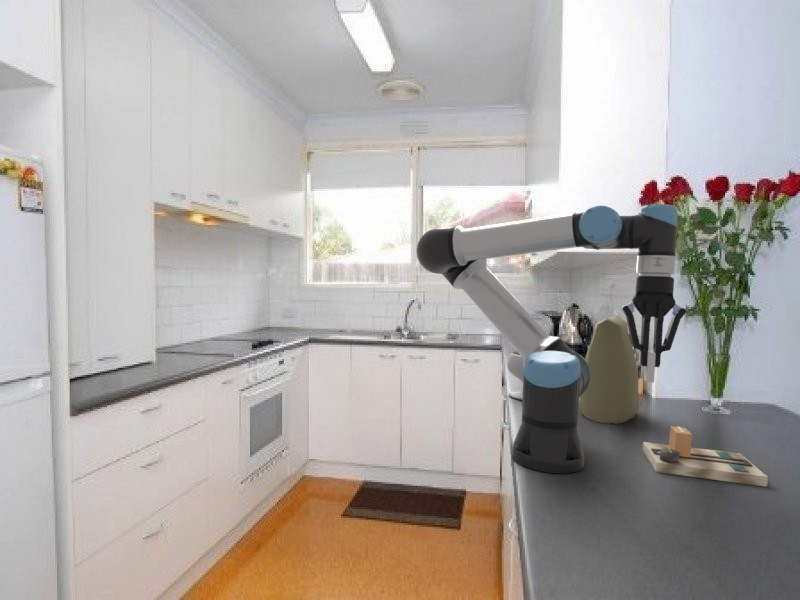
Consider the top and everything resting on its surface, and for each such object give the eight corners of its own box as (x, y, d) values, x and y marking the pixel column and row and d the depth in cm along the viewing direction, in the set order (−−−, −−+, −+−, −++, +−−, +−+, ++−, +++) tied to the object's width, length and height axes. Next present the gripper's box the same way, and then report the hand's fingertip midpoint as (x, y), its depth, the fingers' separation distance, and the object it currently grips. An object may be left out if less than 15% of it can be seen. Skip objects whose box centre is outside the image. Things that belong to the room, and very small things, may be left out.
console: (655, 471, 101) (657, 452, 101) (642, 450, 115) (643, 432, 115) (767, 486, 96) (768, 466, 96) (739, 461, 109) (740, 443, 109)
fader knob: (674, 455, 104) (676, 431, 104) (669, 447, 109) (670, 425, 109) (690, 457, 104) (691, 433, 103) (683, 449, 108) (685, 427, 108)
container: (585, 401, 161) (590, 312, 160) (641, 410, 153) (647, 316, 151) (570, 417, 141) (575, 315, 140) (633, 429, 132) (639, 320, 131)
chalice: (548, 395, 169) (550, 352, 168) (547, 404, 156) (550, 358, 155) (507, 391, 173) (509, 349, 173) (504, 399, 160) (506, 354, 159)
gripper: (625, 274, 105) (619, 381, 106) (693, 276, 101) (686, 387, 102) (620, 275, 112) (615, 375, 113) (683, 276, 108) (677, 380, 109)
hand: (649, 380), depth 108 cm, fingers closed
